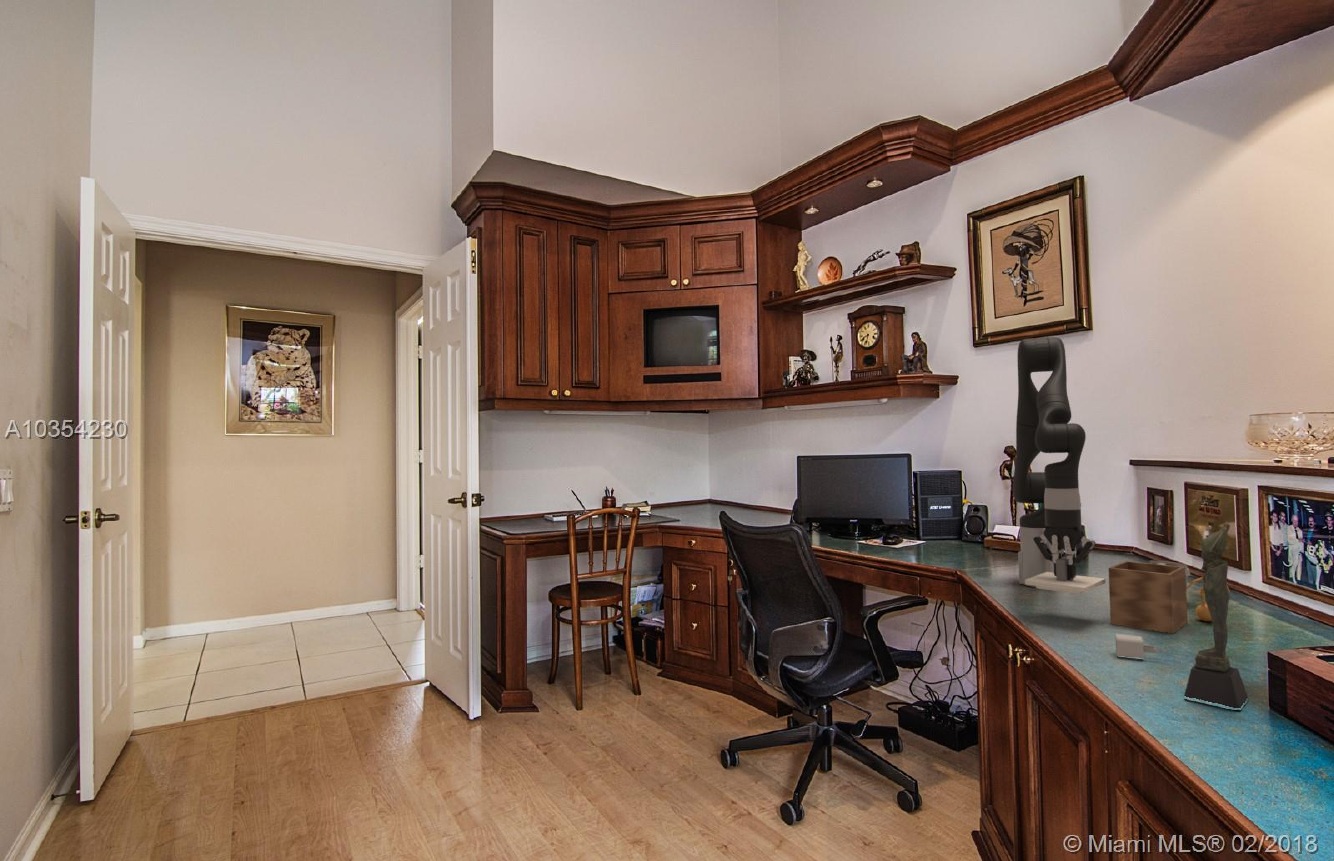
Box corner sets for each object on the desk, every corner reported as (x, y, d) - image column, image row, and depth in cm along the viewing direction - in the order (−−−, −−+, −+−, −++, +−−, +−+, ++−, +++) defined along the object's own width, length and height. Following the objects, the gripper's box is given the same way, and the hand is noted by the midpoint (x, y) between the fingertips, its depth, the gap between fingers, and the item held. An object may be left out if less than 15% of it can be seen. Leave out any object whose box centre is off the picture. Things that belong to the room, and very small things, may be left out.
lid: (1025, 588, 163) (1024, 559, 163) (1047, 579, 171) (1045, 552, 172) (1085, 596, 153) (1084, 565, 153) (1105, 587, 161) (1104, 557, 162)
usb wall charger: (1116, 652, 138) (1115, 633, 138) (1157, 657, 135) (1156, 637, 135) (1117, 658, 135) (1116, 638, 135) (1160, 663, 131) (1159, 642, 132)
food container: (1202, 609, 169) (1200, 569, 169) (1174, 608, 170) (1172, 568, 170) (1175, 597, 181) (1174, 560, 181) (1149, 597, 182) (1148, 560, 182)
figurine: (1225, 620, 159) (1223, 568, 159) (1235, 627, 153) (1233, 573, 153) (1182, 617, 162) (1180, 567, 162) (1190, 624, 156) (1188, 572, 157)
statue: (1193, 688, 118) (1186, 516, 119) (1249, 700, 112) (1241, 519, 113) (1182, 699, 113) (1175, 520, 114) (1240, 712, 108) (1233, 523, 108)
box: (1110, 623, 159) (1108, 567, 159) (1127, 614, 166) (1125, 560, 167) (1172, 633, 150) (1170, 574, 150) (1187, 623, 157) (1185, 567, 157)
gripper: (1025, 506, 166) (1028, 577, 165) (1088, 509, 155) (1091, 585, 155) (1038, 504, 170) (1041, 573, 170) (1100, 507, 160) (1103, 580, 160)
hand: (1065, 579), depth 162 cm, fingers closed on lid
